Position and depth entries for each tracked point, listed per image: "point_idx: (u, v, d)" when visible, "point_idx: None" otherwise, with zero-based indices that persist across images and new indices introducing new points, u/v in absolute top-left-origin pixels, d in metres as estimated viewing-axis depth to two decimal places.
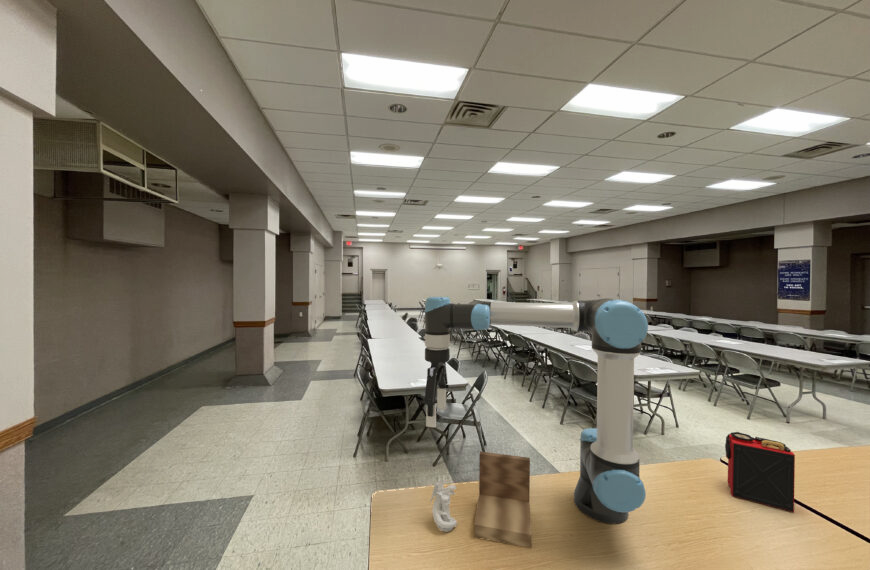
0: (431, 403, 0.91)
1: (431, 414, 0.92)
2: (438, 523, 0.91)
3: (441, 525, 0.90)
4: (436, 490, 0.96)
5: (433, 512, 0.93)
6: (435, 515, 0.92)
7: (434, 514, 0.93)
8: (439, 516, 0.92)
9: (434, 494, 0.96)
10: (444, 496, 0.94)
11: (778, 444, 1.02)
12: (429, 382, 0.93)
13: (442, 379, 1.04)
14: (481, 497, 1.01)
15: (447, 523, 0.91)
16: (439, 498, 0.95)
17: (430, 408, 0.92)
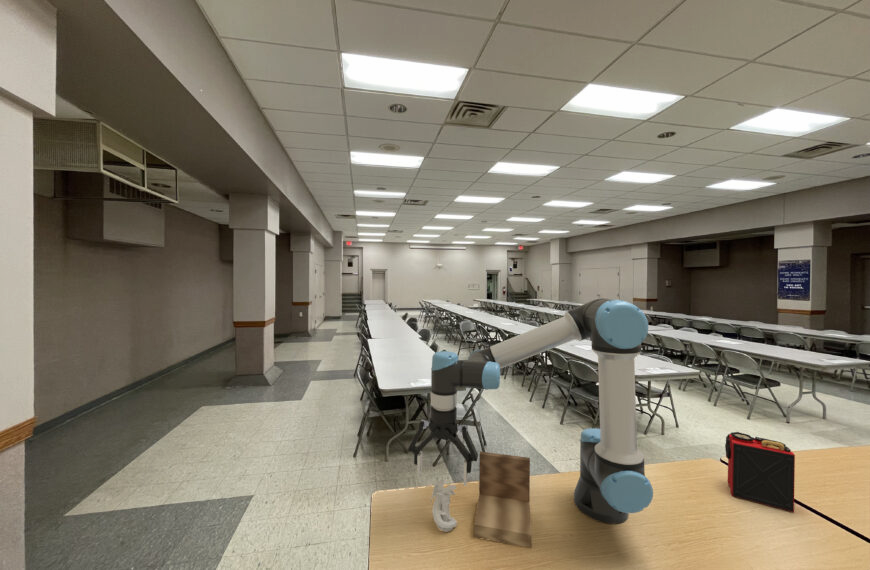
0: None
1: None
2: (438, 523, 0.91)
3: (441, 525, 0.90)
4: (436, 490, 0.96)
5: (433, 512, 0.93)
6: (435, 515, 0.92)
7: (434, 514, 0.93)
8: (439, 516, 0.92)
9: (434, 494, 0.96)
10: (444, 496, 0.94)
11: (778, 444, 1.02)
12: None
13: None
14: (481, 497, 1.01)
15: (447, 523, 0.91)
16: (439, 498, 0.95)
17: None
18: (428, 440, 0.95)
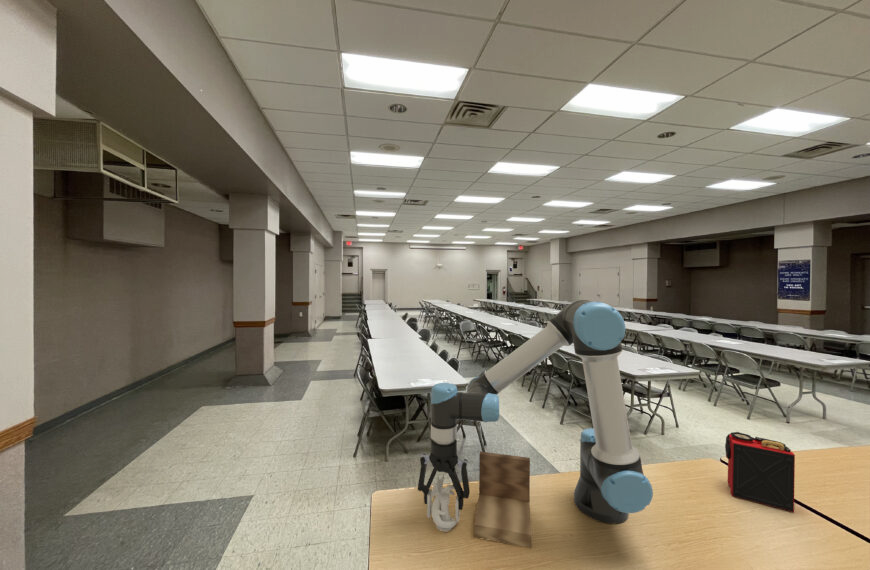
0: None
1: None
2: (437, 523, 0.91)
3: (440, 525, 0.90)
4: (435, 490, 0.96)
5: (432, 512, 0.93)
6: (435, 515, 0.92)
7: (433, 514, 0.93)
8: (438, 516, 0.92)
9: (433, 494, 0.96)
10: (443, 496, 0.94)
11: (778, 444, 1.02)
12: None
13: None
14: (481, 497, 1.01)
15: (446, 523, 0.91)
16: (438, 498, 0.95)
17: None
18: (433, 476, 0.95)
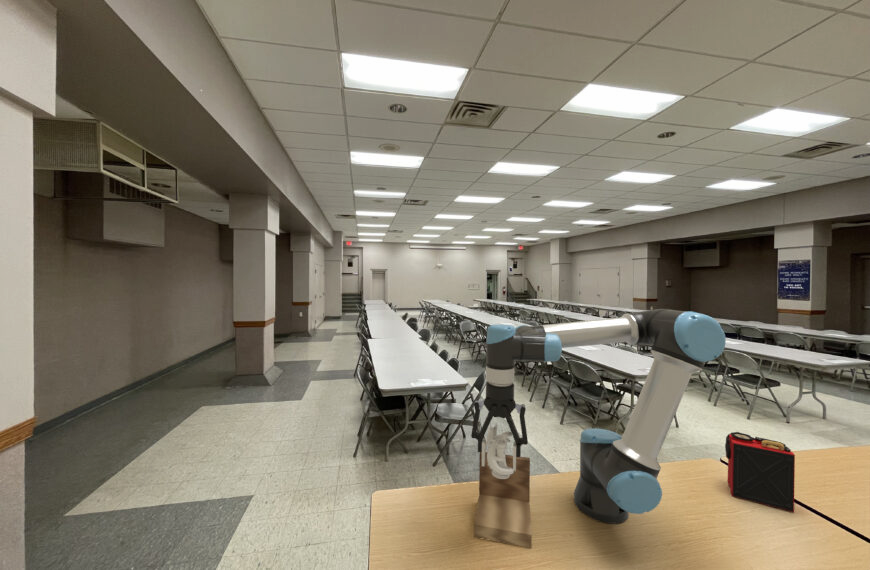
0: None
1: (478, 449, 0.91)
2: (495, 469, 0.85)
3: (499, 471, 0.84)
4: (490, 437, 0.90)
5: (488, 459, 0.87)
6: (492, 462, 0.86)
7: (490, 461, 0.87)
8: (496, 462, 0.86)
9: (488, 441, 0.90)
10: (499, 443, 0.89)
11: (778, 444, 1.02)
12: None
13: None
14: (481, 497, 1.01)
15: (505, 469, 0.85)
16: (494, 445, 0.89)
17: None
18: (488, 421, 0.89)
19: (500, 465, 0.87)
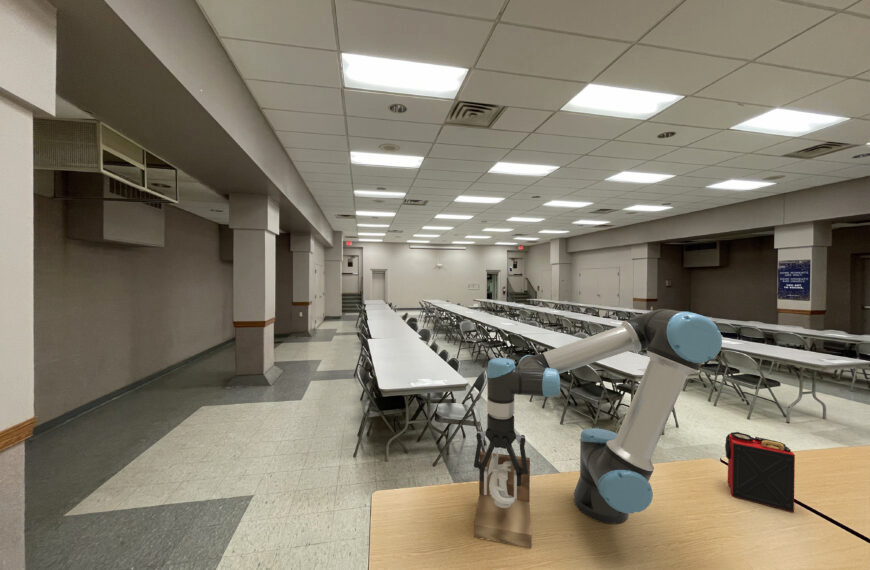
0: None
1: (480, 478, 0.95)
2: (497, 499, 0.89)
3: (500, 501, 0.89)
4: (491, 467, 0.94)
5: (490, 488, 0.91)
6: (494, 491, 0.90)
7: (492, 490, 0.91)
8: (497, 492, 0.90)
9: (490, 471, 0.94)
10: (501, 472, 0.93)
11: (778, 444, 1.02)
12: None
13: (510, 457, 0.92)
14: (481, 497, 1.01)
15: (506, 499, 0.89)
16: (495, 475, 0.93)
17: (480, 471, 0.95)
18: (490, 452, 0.93)
19: (502, 494, 0.91)
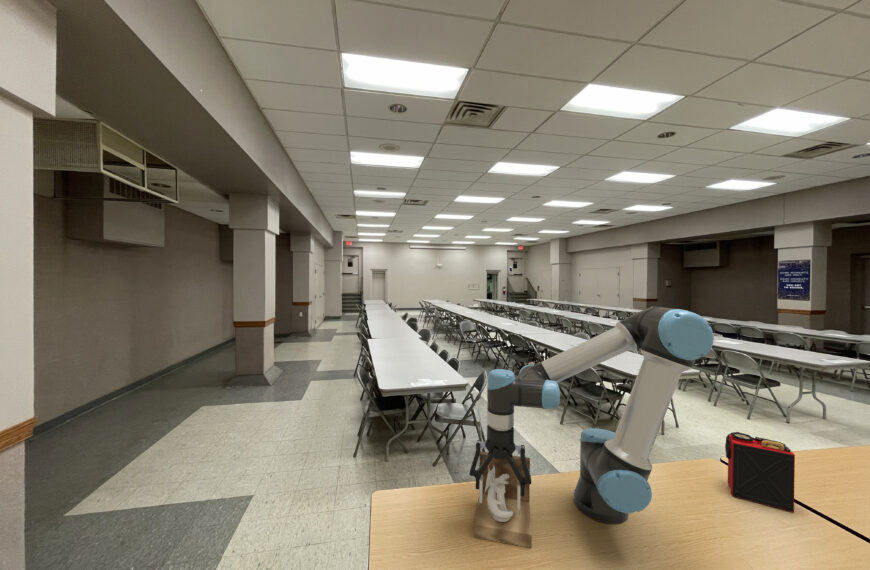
0: None
1: (476, 486, 0.95)
2: (496, 513, 0.89)
3: (499, 514, 0.89)
4: (489, 481, 0.95)
5: (489, 503, 0.92)
6: (492, 505, 0.91)
7: (490, 504, 0.91)
8: (496, 506, 0.91)
9: (487, 485, 0.95)
10: (498, 486, 0.93)
11: (778, 444, 1.02)
12: (475, 453, 0.96)
13: None
14: None
15: (505, 512, 0.90)
16: (493, 488, 0.94)
17: None
18: (488, 462, 0.94)
19: (500, 508, 0.91)
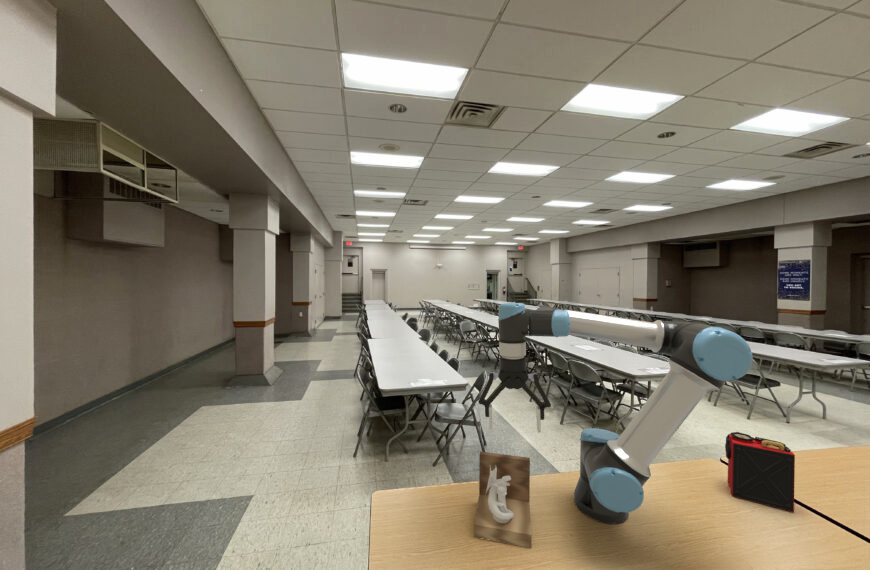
0: None
1: (485, 414, 0.97)
2: (497, 514, 0.89)
3: (500, 516, 0.89)
4: (490, 482, 0.94)
5: (490, 504, 0.91)
6: (493, 507, 0.90)
7: (491, 506, 0.91)
8: (497, 507, 0.90)
9: (489, 486, 0.94)
10: (500, 487, 0.93)
11: (778, 444, 1.02)
12: None
13: (529, 395, 0.94)
14: (481, 497, 1.01)
15: (506, 514, 0.89)
16: (494, 489, 0.94)
17: (485, 408, 0.97)
18: (499, 391, 0.96)
19: (501, 509, 0.91)
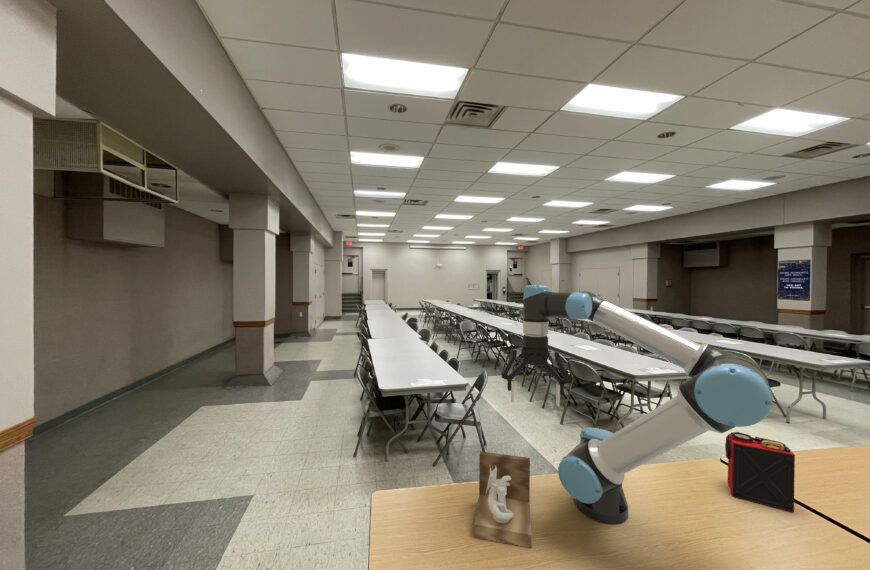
0: None
1: (507, 388, 1.04)
2: (497, 514, 0.89)
3: (500, 516, 0.89)
4: (490, 482, 0.94)
5: (490, 504, 0.91)
6: (493, 507, 0.90)
7: (491, 506, 0.91)
8: (497, 507, 0.90)
9: (489, 486, 0.94)
10: (500, 487, 0.93)
11: (778, 444, 1.02)
12: None
13: None
14: (481, 497, 1.01)
15: (506, 514, 0.89)
16: (494, 489, 0.94)
17: None
18: (521, 366, 1.02)
19: (501, 509, 0.91)
